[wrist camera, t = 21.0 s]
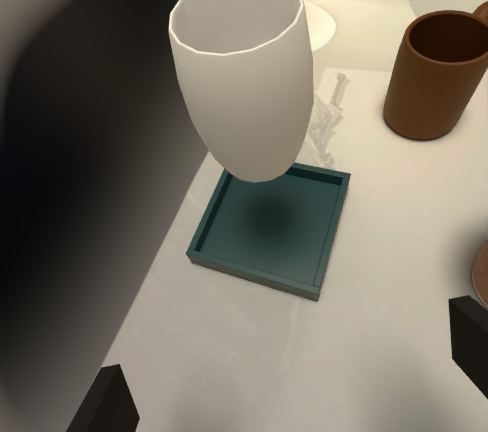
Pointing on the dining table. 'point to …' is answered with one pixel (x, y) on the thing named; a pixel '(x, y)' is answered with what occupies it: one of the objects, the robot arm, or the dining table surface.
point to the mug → (437, 72)
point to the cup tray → (273, 228)
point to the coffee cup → (481, 274)
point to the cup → (246, 80)
